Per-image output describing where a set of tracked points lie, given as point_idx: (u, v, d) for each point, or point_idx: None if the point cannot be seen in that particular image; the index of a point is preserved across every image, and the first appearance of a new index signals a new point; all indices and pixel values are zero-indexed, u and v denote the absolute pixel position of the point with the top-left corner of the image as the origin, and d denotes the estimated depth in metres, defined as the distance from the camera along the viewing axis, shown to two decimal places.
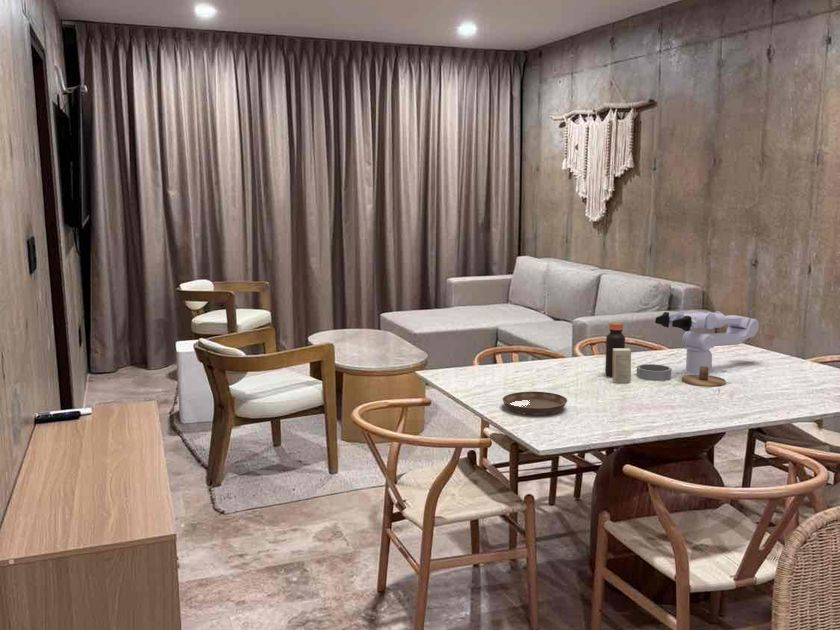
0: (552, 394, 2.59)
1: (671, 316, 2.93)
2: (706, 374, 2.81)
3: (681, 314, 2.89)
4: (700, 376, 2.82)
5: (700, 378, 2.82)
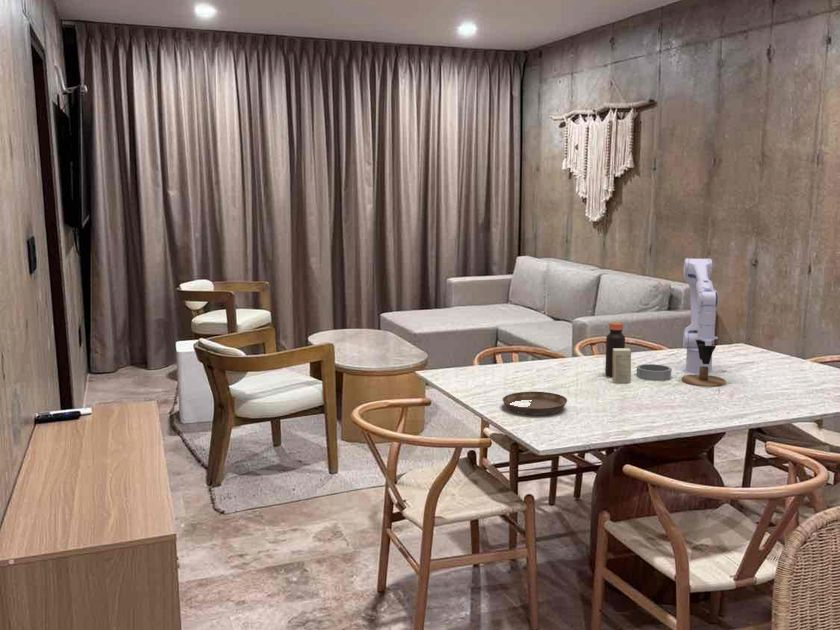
0: (552, 394, 2.59)
1: None
2: (706, 374, 2.81)
3: None
4: (700, 376, 2.82)
5: (700, 378, 2.82)
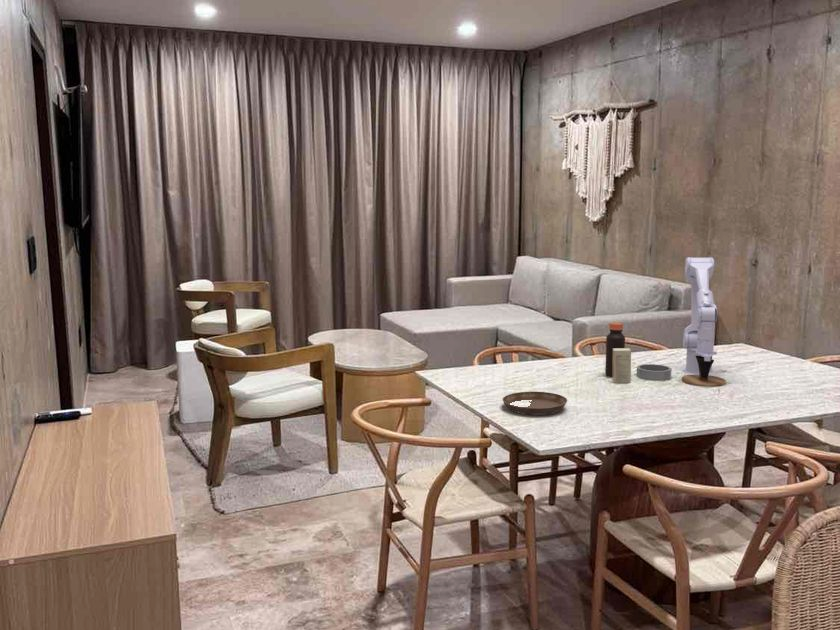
0: (552, 394, 2.59)
1: None
2: None
3: None
4: (700, 376, 2.82)
5: (700, 378, 2.82)
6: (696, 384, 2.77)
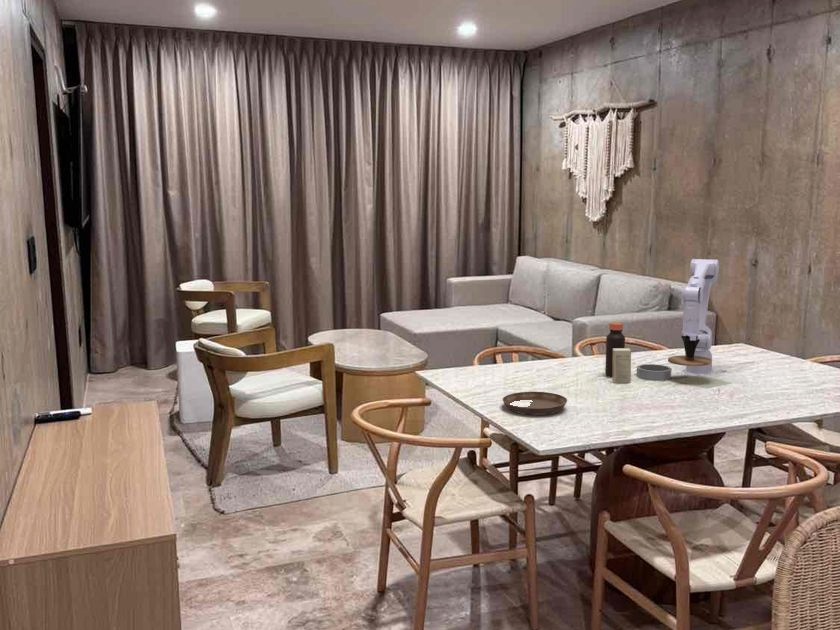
0: (552, 394, 2.59)
1: None
2: None
3: None
4: (686, 356, 2.83)
5: (686, 358, 2.83)
6: (682, 364, 2.78)
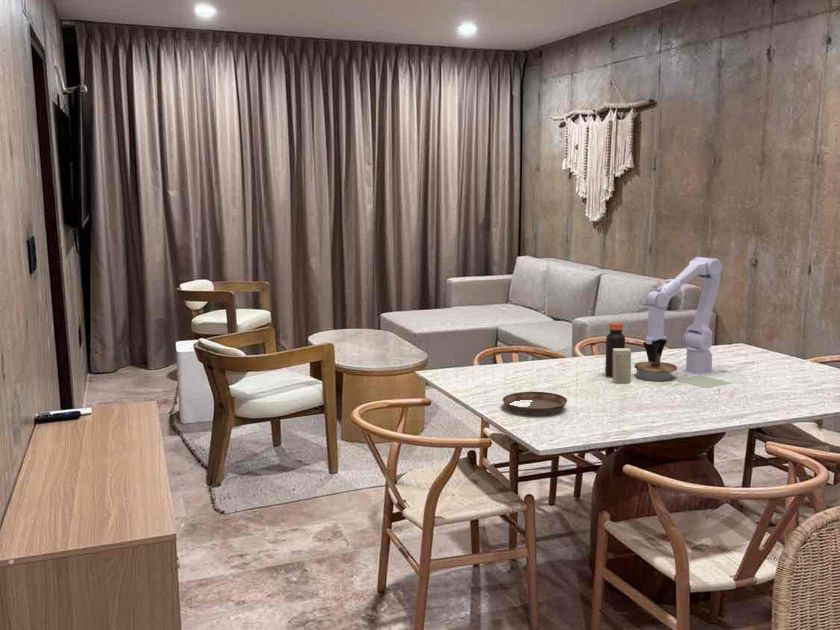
0: (552, 394, 2.59)
1: None
2: (656, 360, 2.88)
3: None
4: (651, 362, 2.90)
5: (651, 364, 2.90)
6: (641, 369, 2.86)
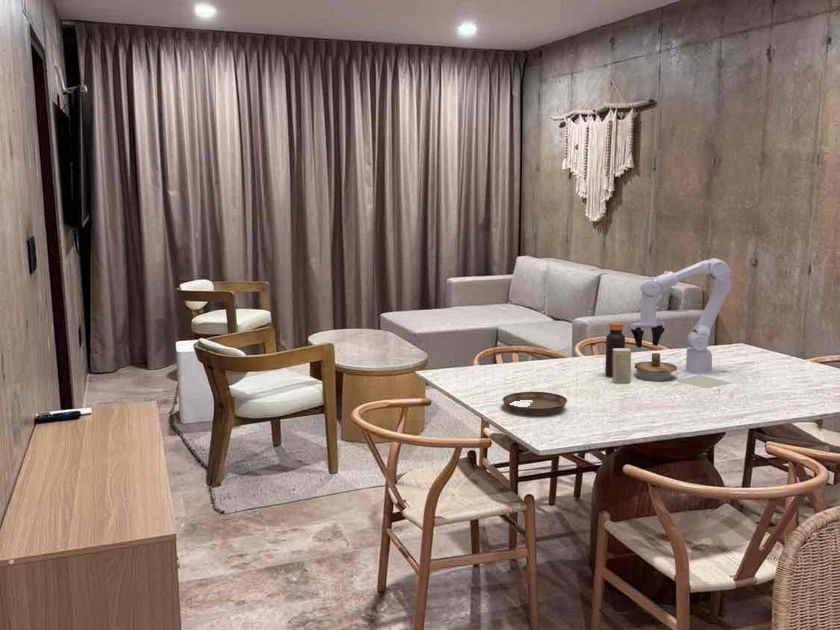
0: (552, 394, 2.59)
1: (641, 326, 2.96)
2: (656, 360, 2.88)
3: None
4: (651, 362, 2.90)
5: (651, 364, 2.90)
6: (641, 369, 2.86)
